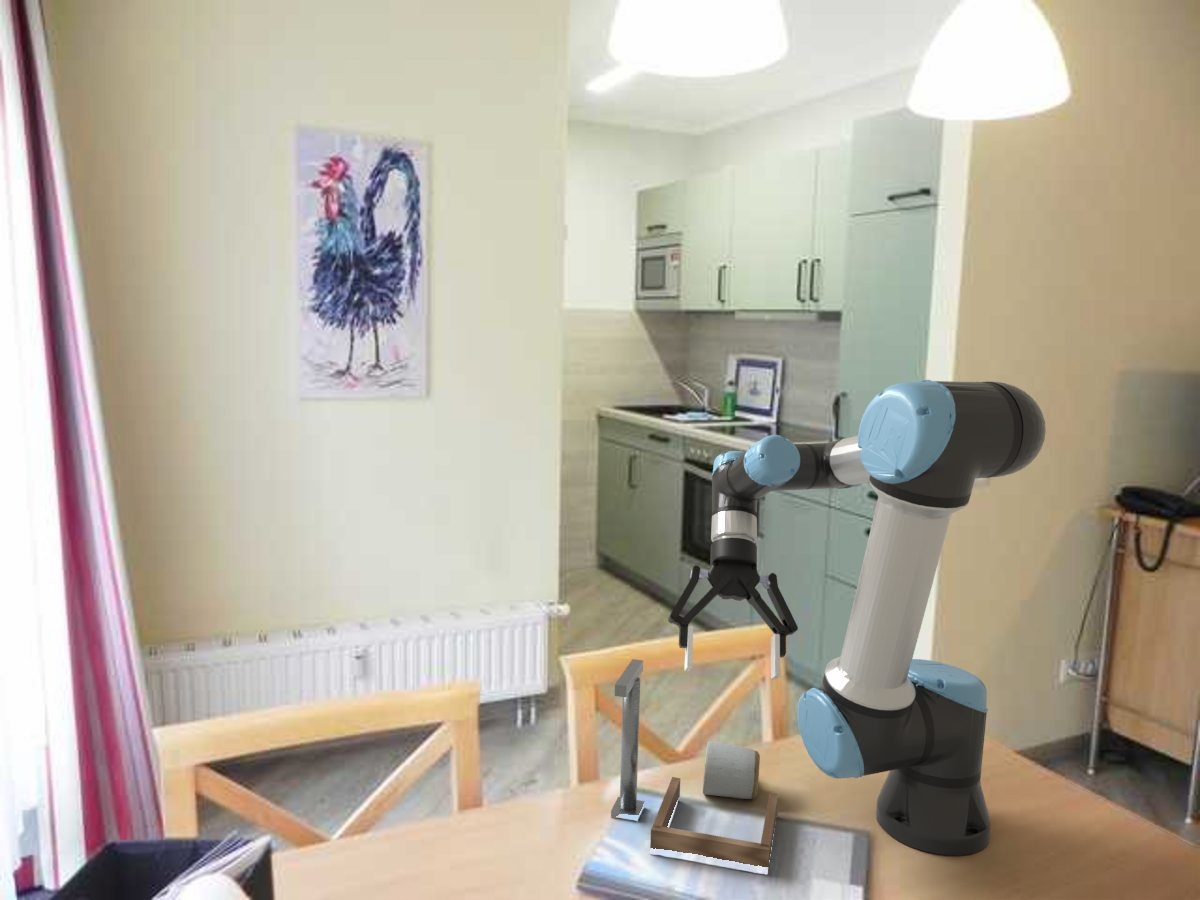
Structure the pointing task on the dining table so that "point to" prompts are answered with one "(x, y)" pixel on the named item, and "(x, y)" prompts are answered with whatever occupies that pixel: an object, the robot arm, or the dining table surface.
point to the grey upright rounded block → (731, 771)
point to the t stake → (629, 739)
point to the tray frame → (711, 843)
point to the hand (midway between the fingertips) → (731, 674)
